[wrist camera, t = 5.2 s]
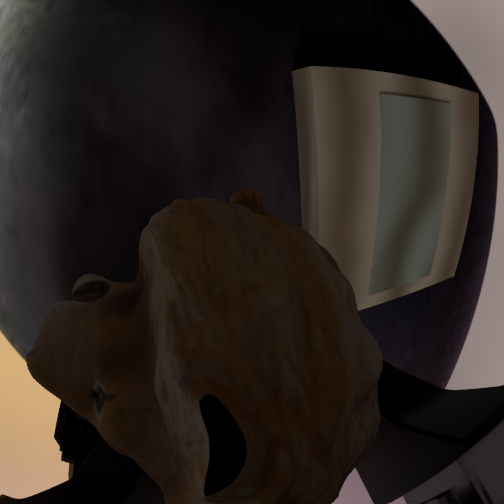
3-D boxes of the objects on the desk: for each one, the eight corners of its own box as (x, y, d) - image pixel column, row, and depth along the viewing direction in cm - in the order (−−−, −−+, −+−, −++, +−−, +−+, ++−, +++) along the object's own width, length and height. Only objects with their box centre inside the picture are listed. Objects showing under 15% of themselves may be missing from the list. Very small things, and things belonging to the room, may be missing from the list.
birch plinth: (302, 300, 24) (316, 324, 22) (291, 71, 15) (312, 65, 13) (436, 261, 27) (455, 277, 24) (453, 90, 18) (480, 94, 15)
